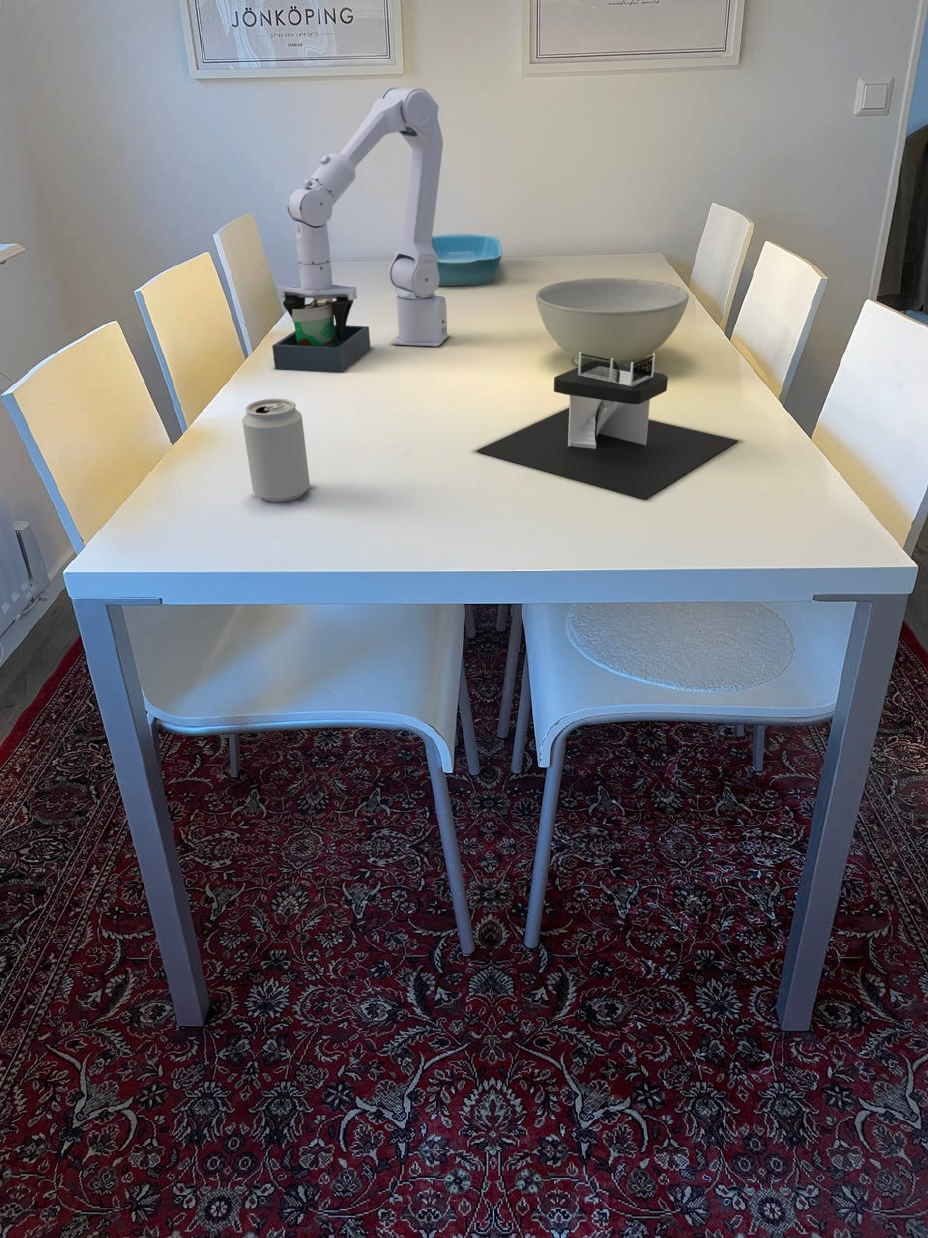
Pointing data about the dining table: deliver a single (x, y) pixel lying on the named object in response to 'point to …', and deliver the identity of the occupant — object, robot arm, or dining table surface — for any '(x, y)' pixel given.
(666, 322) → the decorative bowl
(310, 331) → the food container
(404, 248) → the robot arm
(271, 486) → the can
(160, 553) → the dining table surface
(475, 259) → the casserole dish
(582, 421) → the black-topped pedestal
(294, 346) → the tote
